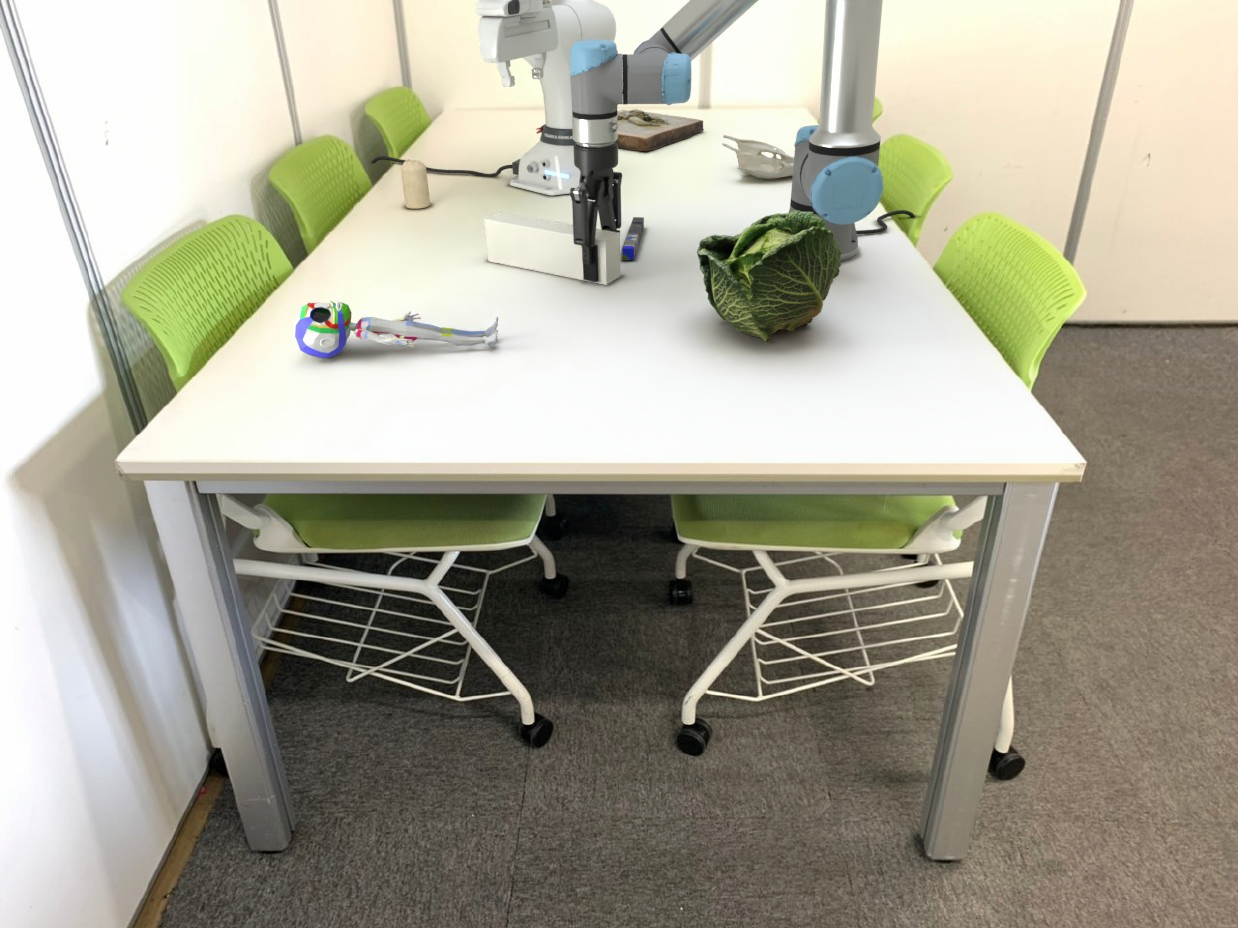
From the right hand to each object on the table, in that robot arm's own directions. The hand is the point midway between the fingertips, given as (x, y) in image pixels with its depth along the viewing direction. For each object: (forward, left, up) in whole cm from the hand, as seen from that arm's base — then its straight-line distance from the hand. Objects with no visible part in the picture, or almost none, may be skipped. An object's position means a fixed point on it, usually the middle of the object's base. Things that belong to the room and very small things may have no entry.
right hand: (599, 275), depth 162 cm
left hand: (+5, -30, +28) cm, 41 cm away
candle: (+26, -57, -1) cm, 63 cm away
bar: (+7, -8, -1) cm, 10 cm away
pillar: (-12, -16, -1) cm, 20 cm away
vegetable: (-19, +31, -1) cm, 36 cm away
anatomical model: (-60, -52, -1) cm, 79 cm away
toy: (+38, +19, -1) cm, 42 cm away
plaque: (-42, -106, -1) cm, 114 cm away
